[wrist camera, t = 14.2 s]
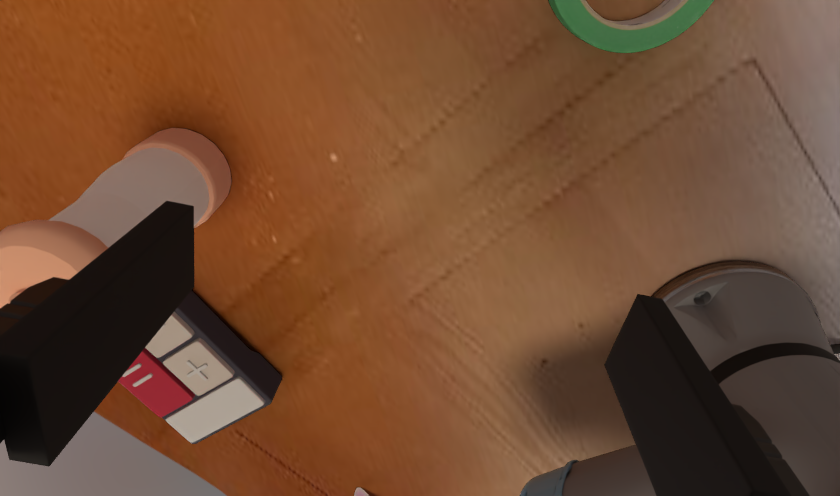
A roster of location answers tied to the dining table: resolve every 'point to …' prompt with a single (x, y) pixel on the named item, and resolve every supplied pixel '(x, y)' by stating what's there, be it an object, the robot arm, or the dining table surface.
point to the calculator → (200, 373)
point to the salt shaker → (115, 208)
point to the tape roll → (629, 24)
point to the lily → (360, 492)
